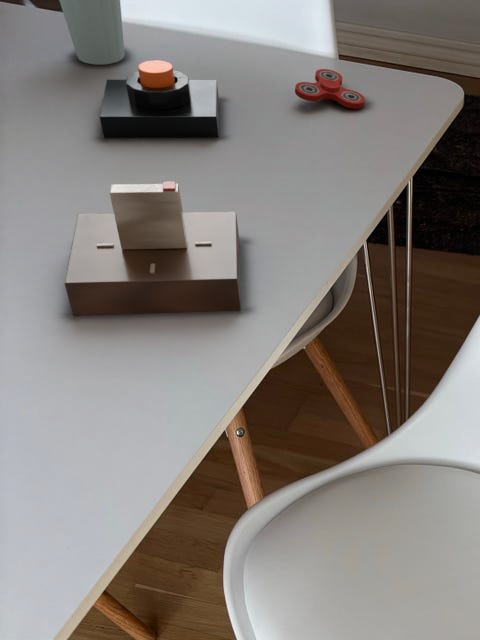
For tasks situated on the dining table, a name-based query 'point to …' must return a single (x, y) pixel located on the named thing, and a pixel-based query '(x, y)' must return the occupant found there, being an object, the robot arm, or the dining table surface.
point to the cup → (95, 29)
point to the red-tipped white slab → (149, 215)
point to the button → (156, 74)
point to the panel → (155, 269)
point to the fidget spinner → (329, 90)
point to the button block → (160, 109)
